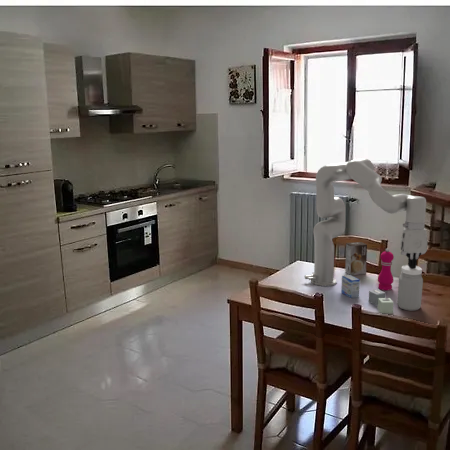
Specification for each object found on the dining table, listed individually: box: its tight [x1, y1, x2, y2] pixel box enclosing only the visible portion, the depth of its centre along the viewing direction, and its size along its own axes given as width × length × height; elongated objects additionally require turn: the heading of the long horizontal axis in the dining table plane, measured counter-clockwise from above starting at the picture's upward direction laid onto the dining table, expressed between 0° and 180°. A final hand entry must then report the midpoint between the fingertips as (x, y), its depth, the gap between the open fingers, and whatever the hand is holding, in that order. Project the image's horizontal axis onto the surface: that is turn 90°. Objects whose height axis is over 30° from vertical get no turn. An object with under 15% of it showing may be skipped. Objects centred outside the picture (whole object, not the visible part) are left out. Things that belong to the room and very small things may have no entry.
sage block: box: [377, 297, 395, 314], centre depth 213 cm, size 5×5×5 cm
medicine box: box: [340, 274, 361, 299], centre depth 232 cm, size 8×4×9 cm, turn 23°
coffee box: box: [345, 241, 368, 276], centre depth 262 cm, size 9×6×16 cm
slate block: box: [368, 288, 387, 306], centre depth 223 cm, size 5×5×5 cm
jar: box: [396, 264, 424, 312], centre depth 215 cm, size 10×10×18 cm
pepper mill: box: [377, 248, 395, 291], centre depth 239 cm, size 7×7×20 cm
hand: (412, 267), depth 213 cm, fingers closed
